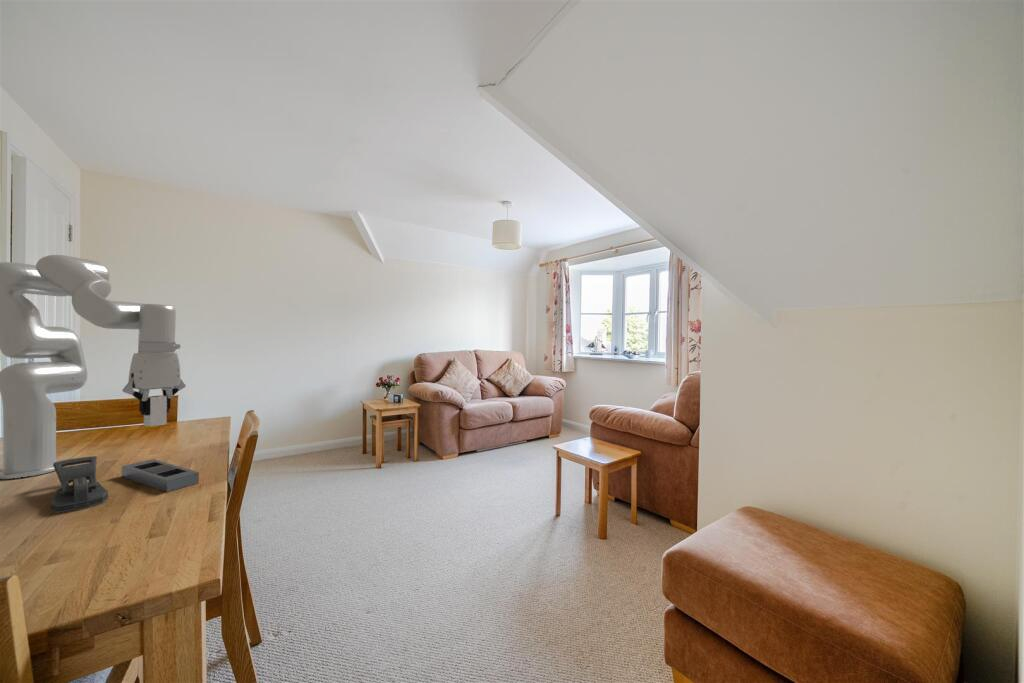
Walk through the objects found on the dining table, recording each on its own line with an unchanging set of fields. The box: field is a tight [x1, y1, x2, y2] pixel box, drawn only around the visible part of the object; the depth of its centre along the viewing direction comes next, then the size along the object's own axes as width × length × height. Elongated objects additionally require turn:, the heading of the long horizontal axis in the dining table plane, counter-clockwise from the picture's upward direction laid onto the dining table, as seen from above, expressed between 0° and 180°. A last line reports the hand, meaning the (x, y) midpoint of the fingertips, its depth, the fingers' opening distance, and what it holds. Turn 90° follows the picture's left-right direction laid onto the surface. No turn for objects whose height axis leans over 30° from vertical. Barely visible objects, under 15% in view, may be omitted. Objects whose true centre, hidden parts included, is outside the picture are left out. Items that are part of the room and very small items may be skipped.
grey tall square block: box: [143, 394, 168, 427], centre depth 108 cm, size 4×4×8 cm
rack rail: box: [121, 458, 200, 493], centre depth 107 cm, size 24×7×3 cm, turn 65°
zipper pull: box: [50, 455, 109, 514], centre depth 96 cm, size 9×7×25 cm
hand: (155, 412), depth 108 cm, fingers closed on grey tall square block, 3 cm apart
